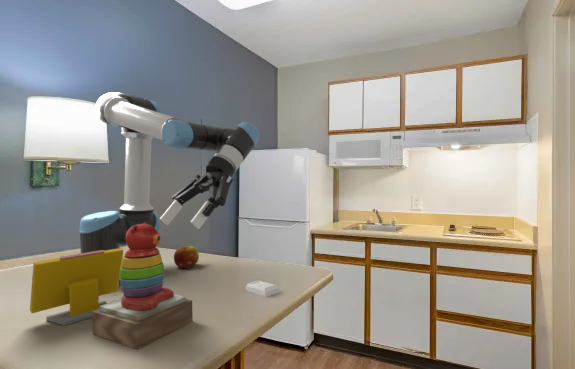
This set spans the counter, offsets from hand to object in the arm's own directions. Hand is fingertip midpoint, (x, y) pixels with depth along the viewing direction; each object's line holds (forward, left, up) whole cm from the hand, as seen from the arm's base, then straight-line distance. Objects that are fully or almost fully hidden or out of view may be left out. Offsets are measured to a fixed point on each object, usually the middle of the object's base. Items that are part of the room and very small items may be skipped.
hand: (178, 223), depth 84 cm
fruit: (-35, +36, -23) cm, 55 cm away
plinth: (-2, -9, -23) cm, 25 cm away
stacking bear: (-2, -9, -17) cm, 19 cm away
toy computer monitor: (-23, -11, -23) cm, 34 cm away
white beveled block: (+8, +24, -23) cm, 34 cm away
